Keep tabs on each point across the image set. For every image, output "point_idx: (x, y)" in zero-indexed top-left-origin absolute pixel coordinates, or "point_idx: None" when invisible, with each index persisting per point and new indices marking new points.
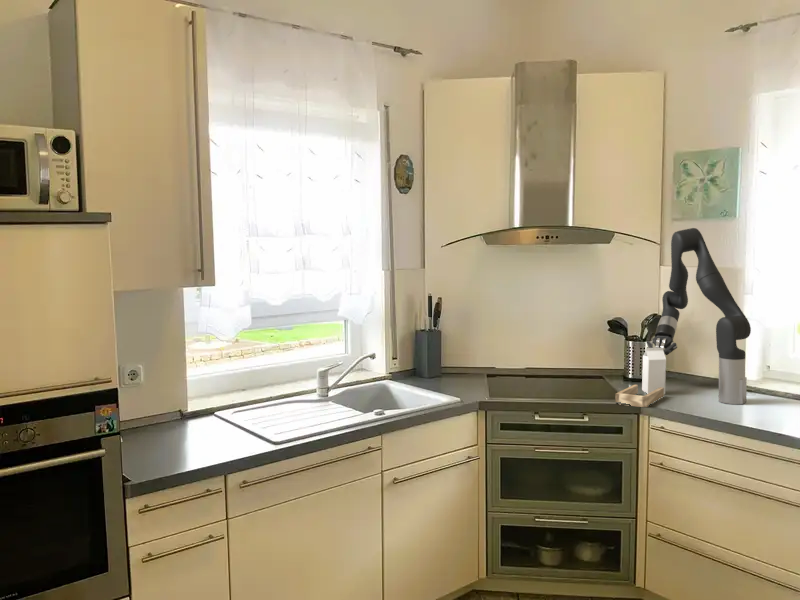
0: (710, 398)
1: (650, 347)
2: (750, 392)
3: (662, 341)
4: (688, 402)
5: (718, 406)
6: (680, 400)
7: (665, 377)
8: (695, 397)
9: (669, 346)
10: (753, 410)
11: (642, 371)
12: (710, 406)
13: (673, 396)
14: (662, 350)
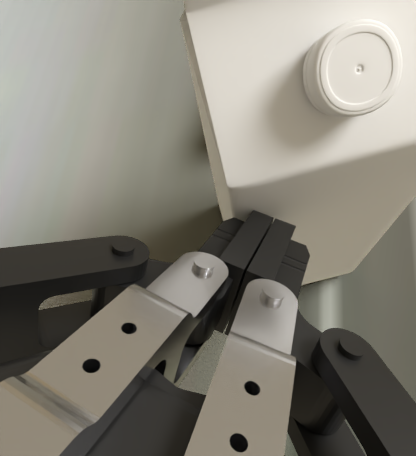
0: (8, 160)
1: (414, 421)
2: None
3: (84, 425)
4: (131, 65)
5: (28, 23)
6: (159, 95)
7: (206, 145)
8: (73, 170)
9: (2, 282)
10: None
11: (394, 218)
12: (59, 17)
13: (178, 174)
14: (198, 4)
